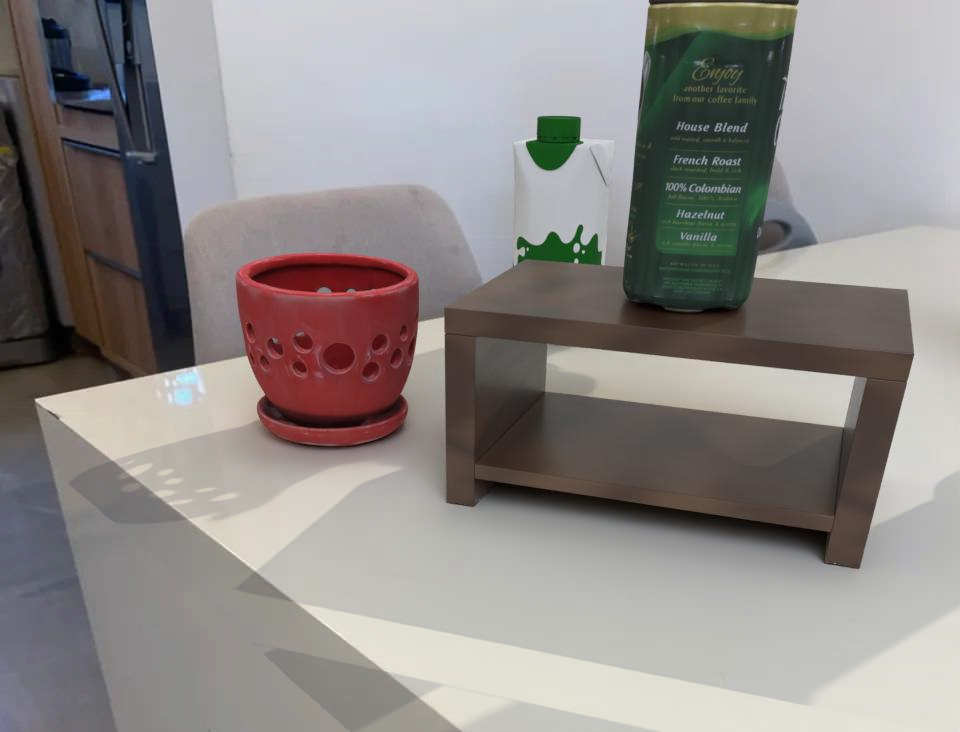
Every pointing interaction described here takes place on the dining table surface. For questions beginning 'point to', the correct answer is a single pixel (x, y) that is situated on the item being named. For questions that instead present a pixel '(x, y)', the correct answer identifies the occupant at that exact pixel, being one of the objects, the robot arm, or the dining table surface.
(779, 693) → the dining table surface
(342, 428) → the flower pot
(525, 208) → the milk carton
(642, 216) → the coffee jar
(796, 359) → the shelf
